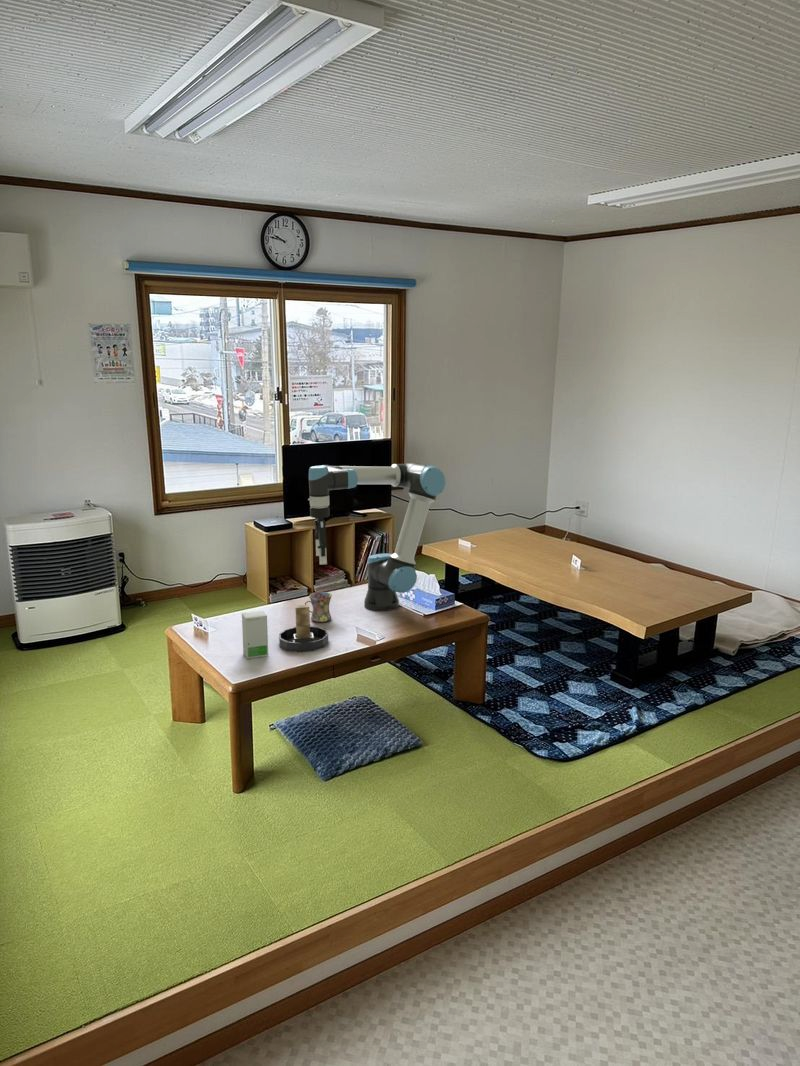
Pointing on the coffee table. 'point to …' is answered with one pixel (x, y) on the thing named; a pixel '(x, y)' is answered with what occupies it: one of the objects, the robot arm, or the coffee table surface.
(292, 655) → the coffee table surface
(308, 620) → the brown cardboard box
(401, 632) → the coffee table surface
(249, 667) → the coffee table surface
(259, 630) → the skincare box
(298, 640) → the wick clip
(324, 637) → the dark grey round tray
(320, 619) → the mug
